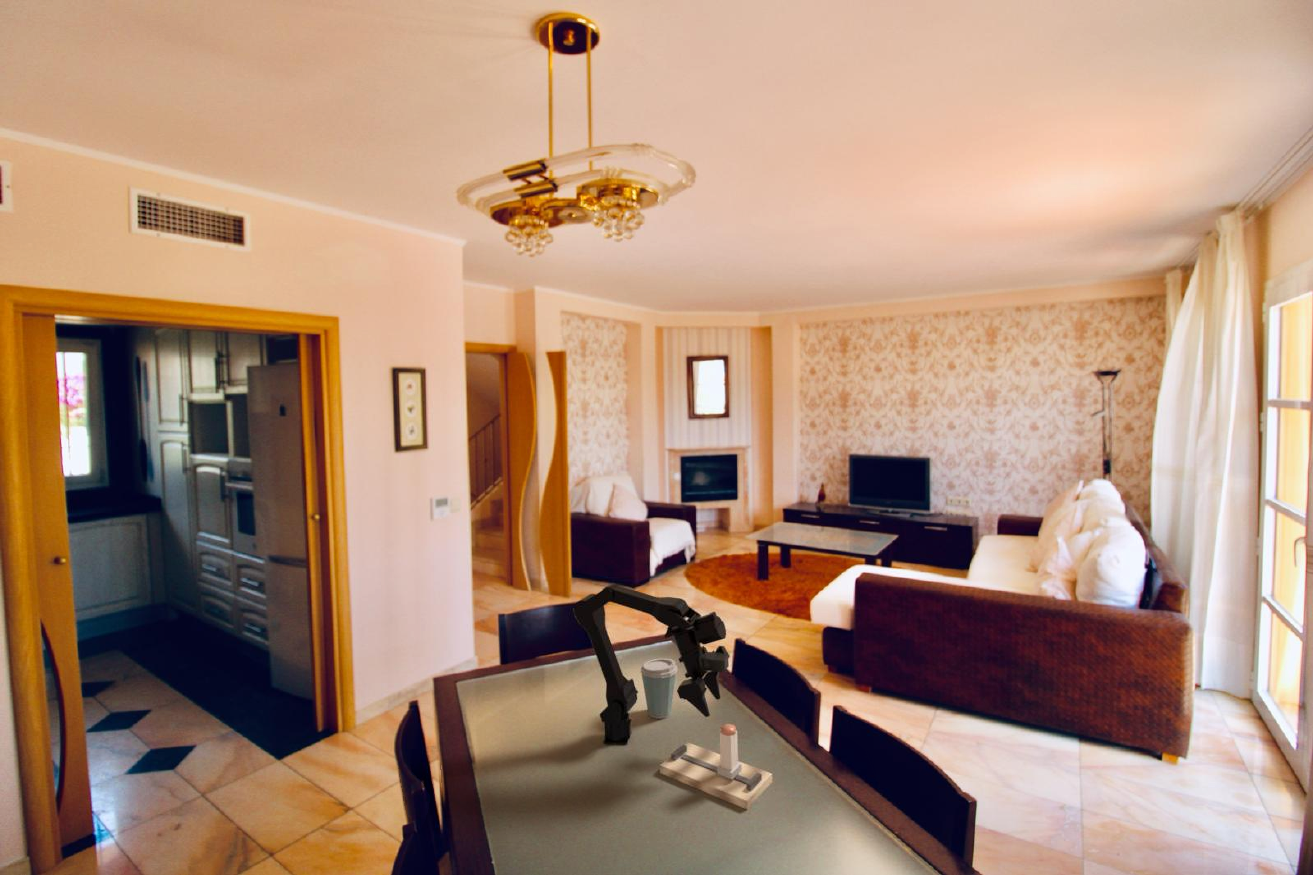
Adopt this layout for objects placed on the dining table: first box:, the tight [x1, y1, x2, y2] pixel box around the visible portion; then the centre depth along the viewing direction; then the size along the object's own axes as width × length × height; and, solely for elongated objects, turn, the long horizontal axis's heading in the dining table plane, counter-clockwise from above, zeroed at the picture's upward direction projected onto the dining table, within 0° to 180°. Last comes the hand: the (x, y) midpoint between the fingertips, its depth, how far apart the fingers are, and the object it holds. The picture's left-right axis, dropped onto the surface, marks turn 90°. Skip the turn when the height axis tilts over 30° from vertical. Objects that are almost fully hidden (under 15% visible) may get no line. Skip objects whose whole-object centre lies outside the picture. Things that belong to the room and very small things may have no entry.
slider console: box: [659, 742, 773, 810], centre depth 148 cm, size 24×12×3 cm, turn 53°
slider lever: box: [717, 723, 742, 780], centre depth 146 cm, size 4×4×11 cm
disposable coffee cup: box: [640, 657, 678, 720], centre depth 179 cm, size 11×11×15 cm
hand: (713, 707), depth 156 cm, fingers open, 9 cm apart
